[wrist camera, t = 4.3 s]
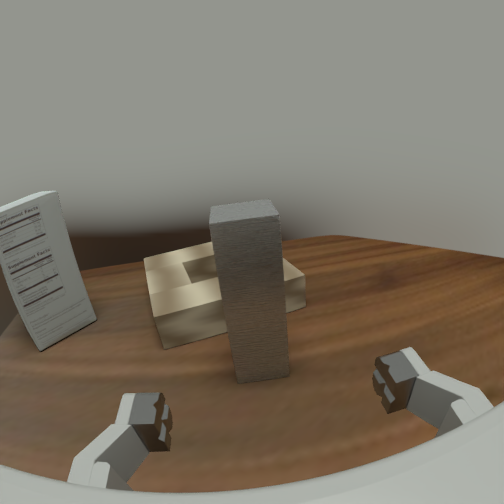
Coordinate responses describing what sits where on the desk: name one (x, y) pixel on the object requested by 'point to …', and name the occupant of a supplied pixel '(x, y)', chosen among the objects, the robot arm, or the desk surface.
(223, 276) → the steel peg
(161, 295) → the square nut
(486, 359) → the desk surface
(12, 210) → the supplement box
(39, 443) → the desk surface
